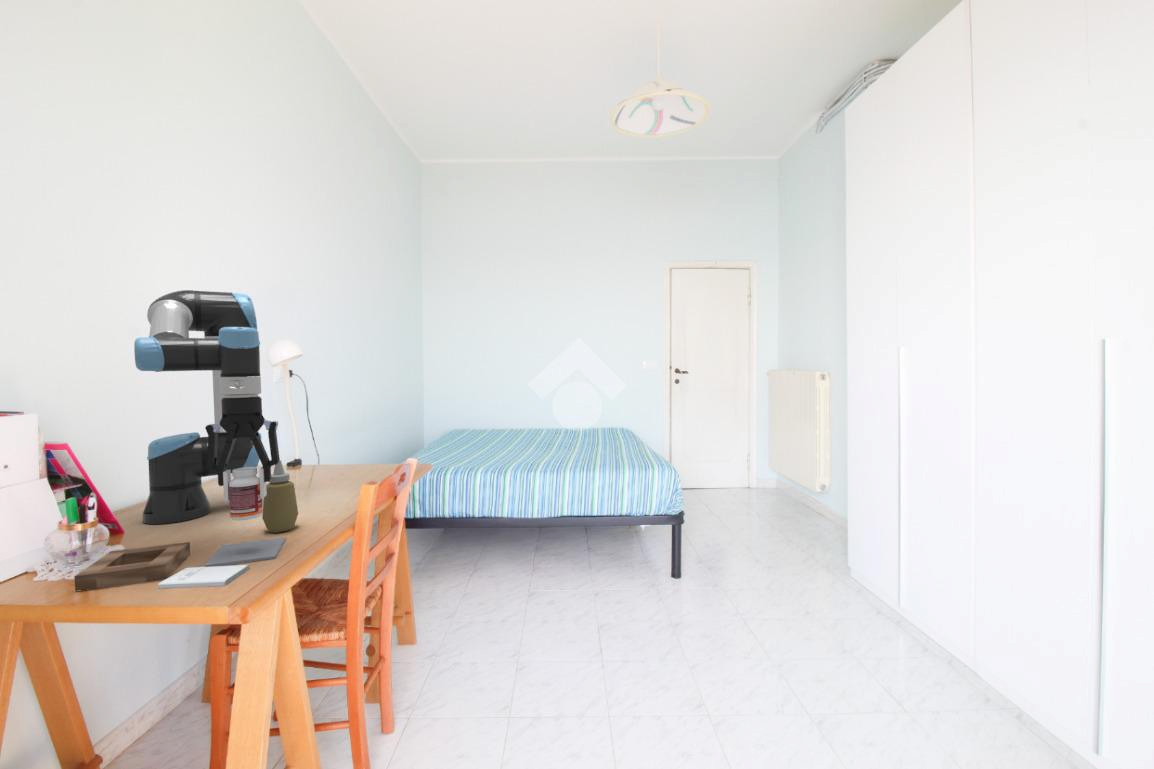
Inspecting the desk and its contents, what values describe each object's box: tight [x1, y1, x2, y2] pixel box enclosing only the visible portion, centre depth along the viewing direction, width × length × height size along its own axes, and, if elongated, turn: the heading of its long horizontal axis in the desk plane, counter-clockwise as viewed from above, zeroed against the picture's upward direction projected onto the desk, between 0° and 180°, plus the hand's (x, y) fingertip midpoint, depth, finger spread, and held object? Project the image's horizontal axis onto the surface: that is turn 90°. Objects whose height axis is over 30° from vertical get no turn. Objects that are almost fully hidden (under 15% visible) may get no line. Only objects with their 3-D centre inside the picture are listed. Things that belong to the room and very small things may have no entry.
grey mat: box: [203, 536, 287, 567], centre depth 114 cm, size 13×13×1 cm
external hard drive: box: [157, 564, 251, 589], centre depth 100 cm, size 2×8×12 cm
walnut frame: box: [73, 541, 191, 592], centre depth 104 cm, size 14×14×3 cm
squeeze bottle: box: [261, 460, 299, 533], centre depth 130 cm, size 8×8×18 cm
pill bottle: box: [228, 467, 263, 522], centre depth 113 cm, size 6×6×11 cm
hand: (245, 497), depth 113 cm, fingers closed on pill bottle, 6 cm apart
